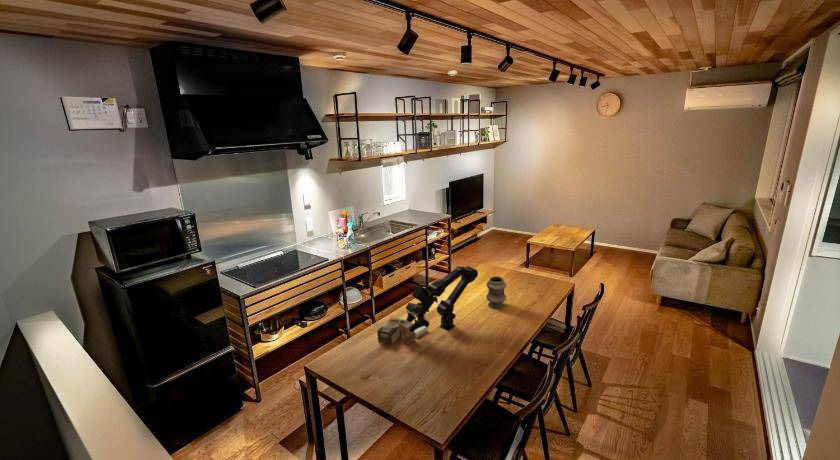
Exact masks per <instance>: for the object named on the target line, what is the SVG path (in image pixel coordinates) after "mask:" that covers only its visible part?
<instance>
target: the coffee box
mask: <svg viewBox="0 0 840 460" xmlns="http://www.w3.org/2000/svg"><path fill="white" fill-rule="evenodd" d="M404 322H406V319H404V318H403V319H402V318H398V317H394V316H390V318H389V319H388V320H386V322H385V323H383V324H382V326H381V327H380V328H379V329H377V331H376V333H377V341H378V342H383V343H386V344H390V345H393V344H394V342H395V341H396V340H398V338H399V337H400V336H401V324H403V323H404Z"/></svg>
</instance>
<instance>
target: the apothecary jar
mask: <svg viewBox="0 0 840 460" xmlns="http://www.w3.org/2000/svg"><path fill="white" fill-rule="evenodd" d="M486 288H488V292H487V294H486V300H487V301H488V304H487V306H488V308H490V309H495V310H501V309H504V308H505V304H504V302H505V301H506V300H507V296H506V294H505V289H506V288H507V283H506V281H504V278H503V277H502V276H498V275H497V276H495V275H494V276H492V277H490V278H489V280H488V281H487V282H486Z"/></svg>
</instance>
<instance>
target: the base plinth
mask: <svg viewBox="0 0 840 460" xmlns="http://www.w3.org/2000/svg"><path fill="white" fill-rule="evenodd" d="M412 323H413V324H414V323H415V321H413V322H412ZM414 331H415V338H418V337H419V335H420V336H422V335H424V334H425V333H426V332H427V331H428V327H426V326H422V327H420V328H418V329H416V330H414Z"/></svg>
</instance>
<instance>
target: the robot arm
mask: <svg viewBox="0 0 840 460" xmlns="http://www.w3.org/2000/svg"><path fill="white" fill-rule="evenodd" d="M478 276H479V271H478V270H477V269H475V268H473V267H472V266H460V265H457V266H455V268H454V269H453V270H452V271H451V272H449V273H448V274H446V275H445V276H444V277H442V278H441V279H440V280H437V281H436V280H435V281H434V282H432V283H431V284H429V285H427V286H425V287H423V286H422V285H420V286H419V287H416V288H415V289H414V290H413V291H412V296H413V298H415V299H416V300H418V301H419V302H417V303H412V302H407V305H406V306H405V310H406V313H407V316H406V319H405V321H409V322H411V323H414V322H415V323H414V324H413V326H412V327H411V329H410V332H412V331H414V330H416V329H418V328H420V327H422V326H426V327H427V328H429V326H430V321H428V320H427V319H426V316H425V315H426V314H427V312H428V313H430V308H431V307H432V306H433V304H434V303H437V308H436V312H437V314H439V315H438V316H441V318H440V325H439V328H442V329H444V330H446V331H450V330H451V329H453V328H454V327H455V326H456V324H454V320H455V319H456V316H457V315H456V314H455V313H454V309H455V308H454V307H455V304H456V303H457V301H458V300H459V298H460V297H461V295H462V294H463V293H464V291H465V290H466V289H467V287H468V285H469V284H470V283H473V282H474V281H475V280H476V279H477V278H478ZM460 277H461V278H460ZM458 278H460V280H459V281H458V282H457V284H456V286H455V287H454V289H453V290H452V291H451V292H450V294H449V295H448V296H447V299H445V300H443V299H441V301H440V302H439V301H438V300H439V299H438V297H441V296H442V295H443V294H444V293H445V291H446V289H447V287H449V286H450V285H451V284H452V283H453V282H455V281H456V280H457V279H458ZM438 302H439V304H438ZM416 318H417V319H416Z"/></svg>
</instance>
